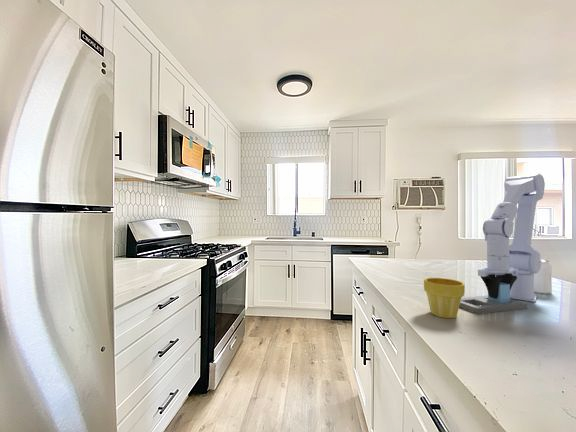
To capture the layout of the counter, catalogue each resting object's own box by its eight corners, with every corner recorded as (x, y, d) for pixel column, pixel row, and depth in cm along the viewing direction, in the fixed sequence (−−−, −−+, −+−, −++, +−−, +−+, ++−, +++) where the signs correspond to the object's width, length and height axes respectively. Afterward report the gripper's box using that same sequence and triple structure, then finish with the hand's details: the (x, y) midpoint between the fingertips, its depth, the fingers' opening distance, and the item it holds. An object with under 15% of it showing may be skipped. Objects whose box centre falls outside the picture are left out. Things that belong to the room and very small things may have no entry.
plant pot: (467, 313, 78) (467, 280, 78) (461, 324, 70) (461, 287, 70) (429, 306, 84) (428, 275, 85) (419, 314, 77) (419, 281, 77)
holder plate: (450, 303, 87) (449, 299, 87) (494, 299, 91) (494, 294, 91) (478, 314, 77) (478, 308, 77) (527, 308, 82) (526, 303, 82)
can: (556, 294, 96) (555, 261, 96) (535, 293, 98) (534, 261, 98) (544, 289, 102) (543, 259, 102) (524, 289, 104) (523, 258, 104)
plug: (488, 303, 87) (487, 282, 87) (497, 302, 88) (497, 281, 88) (500, 307, 83) (500, 285, 83) (510, 306, 84) (509, 284, 84)
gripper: (492, 258, 80) (493, 302, 80) (528, 256, 83) (529, 299, 83) (471, 255, 87) (472, 296, 87) (505, 253, 90) (506, 293, 90)
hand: (498, 297), depth 85 cm, fingers closed on plug, 4 cm apart
